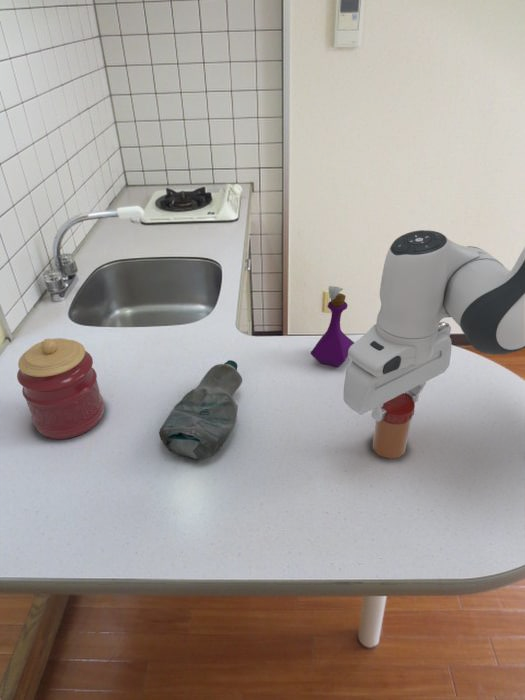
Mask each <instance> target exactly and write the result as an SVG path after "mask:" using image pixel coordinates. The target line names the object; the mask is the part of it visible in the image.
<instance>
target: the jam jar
mask: <svg viewBox="0 0 525 700" xmlns="http://www.w3.org/2000/svg"><path fill="white" fill-rule="evenodd" d="M411 420H412V419H411ZM411 420H409V421H408V422H406V423H402V424H394V423H389V422H386V421H384V420H381V421H380V422H377V421H376V420H375V423H374V429H373V438H372V449H373V451H374V452H375V453H376V454H377V455H378V456H380V457H381V458H384V459H391V460H393V459H398V458H400V457H402V456H404V454H405V452H406V450H407V449H406V448H407V442H408V437H409V432H410V426H411Z"/></svg>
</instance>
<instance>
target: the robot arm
mask: <svg viewBox="0 0 525 700" xmlns="http://www.w3.org/2000/svg"><path fill="white" fill-rule="evenodd" d="M380 279H381V280H380V287H379V300H380V308H379V311H378V313H377V315H376V316H377V317H376V323H375V324H373V325H372V326H371V328H370V329H369V330H368V331H367V332H366V333H364V334H363V335H362V336H361V337H360V338H359V339H358V340H356V341H354V344H353V345H351V346H350V348H349V350H348V356H347V358H348V359H350V360H351V361H350V363H349V364H348V366H347V367H346V371H345V376H344V383H343V395H342V396H343V402H344V404H345V405H346V406H347V407H348V408H350V409H351V410H352V411H353V412H355V413H356V414H358V415H364V414H366V413H368V412H370V411H371V418H372V419H373V420H375V422H376V421H377V422H380V421H381V420H383V419H385V418H386V413H387V411H386V410H384V409H382V406H383V404H384V403H386V402H387V401H389V400H391V399H393V398H395V397H397V396H399V395H401V394H403V393H405V394H407V395H408V396H410V397H411V398H412V399H413V401H414V403H417V402H418V401H419V397H420V394H421V393H422V391H423V389H424V388H425V386H426V385H427V382H428V381H430V380H433V379H434V378H436V377H438V376H440V375H442V374H444V373H445V372H446V371H447V370H448V368H449V366H450V363H451V356H452V346H453V345H452V338H451V337H450V336H451V330H452V327H451V325H450V323H448V322H445V321H442V320H443V319H445V318H446V319H447V318H451V319H452V320H453V321H454V322H455V323H456V324H457V325H458V326H459V327H460V329H461V331H462V333H463V334H464V336H465V337H466V338H467V340H468V342H469V343H470V345H472V347H473V348H474V349H475V350H476V351H478V352H479V353H482V354H486V355H496V356H497V355H500V356H501V355H508V354H513V353H516V352H519V351H522V350H524V349H525V246H524V247H523V249H522V251H521V253H520V254H519V256H518V258H517V259H516V262H515V264H514V266H513V267H512V268H511V270H510V269H508V268H507V267H506V266H505V265H504V264H503V263H501V262H500V261H499V260H498V259H497V258H495V257H494V256H493V255H492V254H491V253H489V252H487V251H485V250H483V248H480V247H477V246H471V245H470V246H468V245H467V246H464V245H461V244H459V243H456V242H455V241H452V240H451V239H449V238H447V236H446V235H445V234H443V233H442V232H439V231H435V230H428V229H427V230H425V229H424V230H423V229H422V230H421V229H420V230H419V229H418V230H413V231H409V232H407V233H404V234H402V235H400V236H398V237H397V238H396V239H394V240H393V241H392V243H391V245H390V246H389V248H388V250H387V252H386V256H385V259H384V263H383V267H382V274H381V278H380Z"/></svg>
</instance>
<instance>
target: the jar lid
mask: <svg viewBox="0 0 525 700" xmlns="http://www.w3.org/2000/svg"><path fill="white" fill-rule="evenodd" d="M415 403H416V402H415ZM415 403H414V401H413V399H412V398H411V397H410V396H408V395H407V394H405V393H403V394H401V395H399V396H397V397H395V398H393V399H391V400H389V401H387V402H386V403H384V404H383V406H382V409H384V410H386V411H387V413H386V418H385V419H383V420H384V421H386V422H389V423H394V424H402V423H406V422H408V421H409V420H412V418H413V417H414V415H415V407H416V405H415Z"/></svg>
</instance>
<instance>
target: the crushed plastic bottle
mask: <svg viewBox="0 0 525 700" xmlns="http://www.w3.org/2000/svg"><path fill="white" fill-rule="evenodd" d="M242 383H243V377H242V375H241V374H240V372H239V371H238V363H237V362H236V361H234V360H231V359H230V360H227V361H226V362H224V363H218V364H215V365H214V366H212V367H211V368H210V369H208V371H207V372H206V374H205V375H204V376H203V377H202V378H201V380H200V382H199V384H198V385H197V386H196V387H195V388H193V389H191V390H190V391H188V392H187V393H186V394H185V395H184V396H183V397H182V399H181V400H179V402H178V403H176V404H175V406H174V407H173V409H172V410H171V411H170V413H169V415H168V416H167V418H166V419H165V420H164V423H163V424H162V425H161V427H160V429H159V431H158V436H159V438H160V440H161V442H162V444H163V445H164V447H166V448H167V450H168V451H169V452H172V453H174V454H176V455H178V456H182V457H185V458H189V459H192V460H206V459H207V460H208V459H209V458H211V457H214V456H215V455H217V453H219V452H220V450H221V449H222V447H223V445H224V444H225V442H226V441H227V439H228V437H229V436H230V434H231V432H232V431H233V430H234V427H235V425H236V422H237V417H238V410H239V409H238V408H239V405H238V404H237V402H236V401H235V399H234V398H233V397H232V396H234V394H235V393H236V392H237V390H238V389H239V388H240V387H241V385H242Z"/></svg>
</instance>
